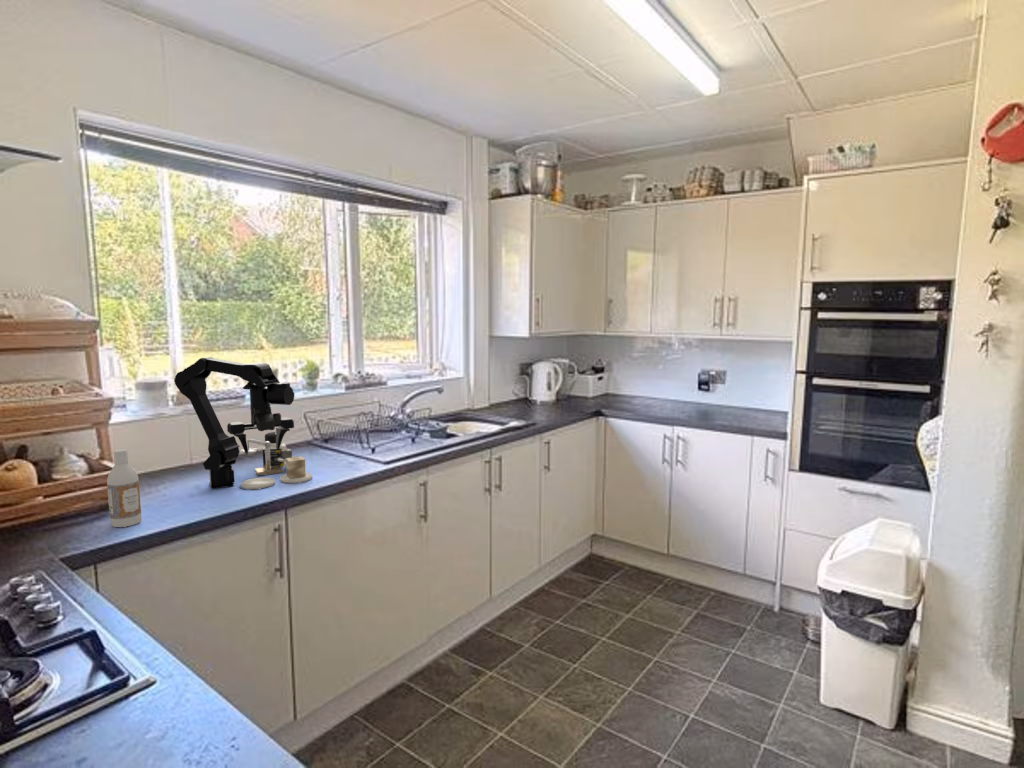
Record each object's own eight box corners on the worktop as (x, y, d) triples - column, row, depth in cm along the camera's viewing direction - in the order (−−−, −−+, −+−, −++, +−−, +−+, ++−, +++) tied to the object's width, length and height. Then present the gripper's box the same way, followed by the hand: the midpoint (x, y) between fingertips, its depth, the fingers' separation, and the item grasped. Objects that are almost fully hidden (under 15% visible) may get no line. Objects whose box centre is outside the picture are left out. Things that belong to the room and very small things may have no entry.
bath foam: (119, 530, 150) (113, 454, 148) (105, 525, 154) (98, 451, 151) (147, 521, 156) (141, 449, 154) (132, 517, 160) (126, 446, 157)
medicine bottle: (263, 468, 210) (261, 435, 208) (266, 463, 217) (264, 431, 215) (284, 466, 212) (282, 434, 210) (286, 461, 219) (285, 430, 217)
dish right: (284, 485, 190) (284, 482, 189) (277, 477, 198) (277, 474, 198) (315, 480, 195) (315, 477, 195) (307, 473, 203) (307, 470, 203)
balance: (241, 478, 197) (239, 441, 196) (238, 474, 202) (236, 438, 201) (297, 470, 207) (296, 435, 206) (293, 466, 212) (291, 432, 211)
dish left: (244, 491, 183) (244, 488, 183) (238, 483, 191) (238, 480, 191) (277, 486, 188) (277, 483, 188) (271, 478, 197) (271, 475, 197)
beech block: (290, 479, 193) (289, 461, 192) (286, 475, 197) (285, 458, 196) (305, 476, 196) (304, 459, 195) (301, 473, 200) (301, 456, 199)
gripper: (233, 410, 171) (235, 461, 173) (298, 404, 182) (299, 453, 184) (225, 404, 180) (228, 454, 182) (288, 399, 191) (290, 446, 193)
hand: (262, 452), depth 185 cm, fingers open, 9 cm apart
